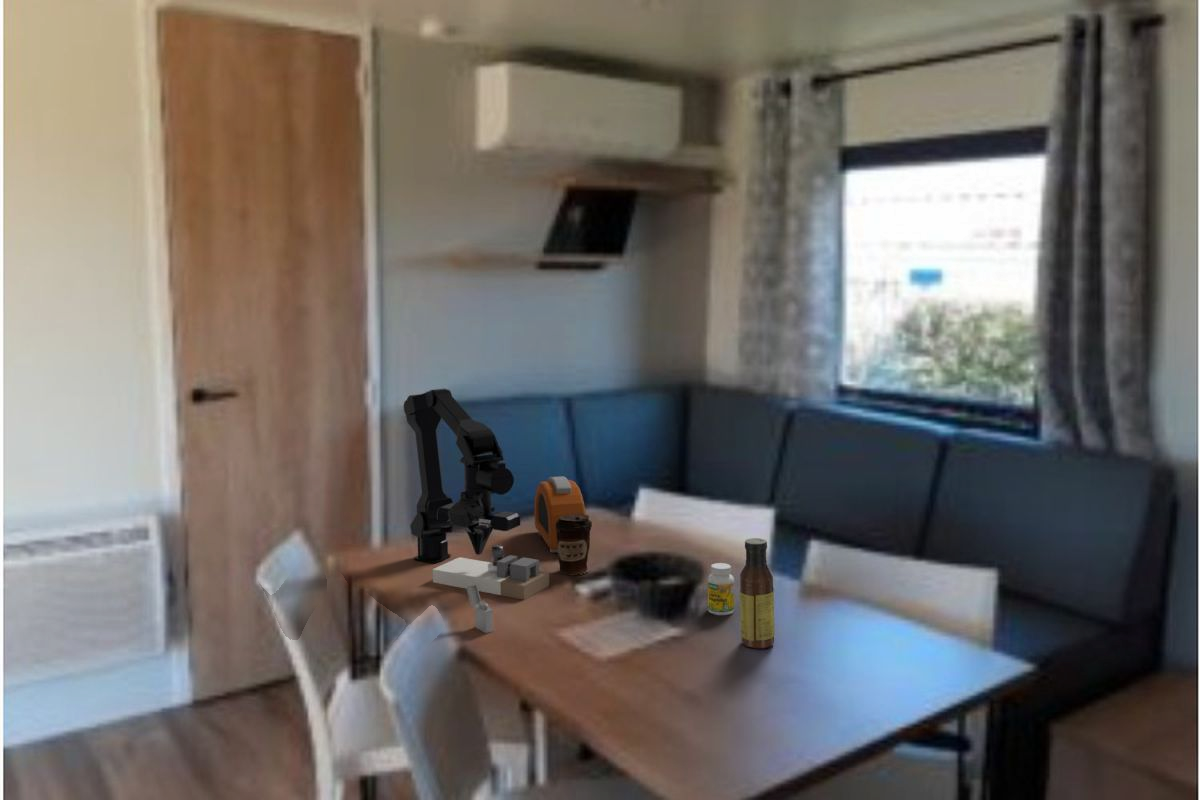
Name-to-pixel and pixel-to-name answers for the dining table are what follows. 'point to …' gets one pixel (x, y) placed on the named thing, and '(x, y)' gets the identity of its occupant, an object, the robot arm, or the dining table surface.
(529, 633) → the dining table surface
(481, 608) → the lighter
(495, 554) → the bolt
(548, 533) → the orange tape measure
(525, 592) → the door lock board
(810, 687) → the dining table surface
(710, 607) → the supplement bottle
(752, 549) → the sauce bottle
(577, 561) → the coffee cup
